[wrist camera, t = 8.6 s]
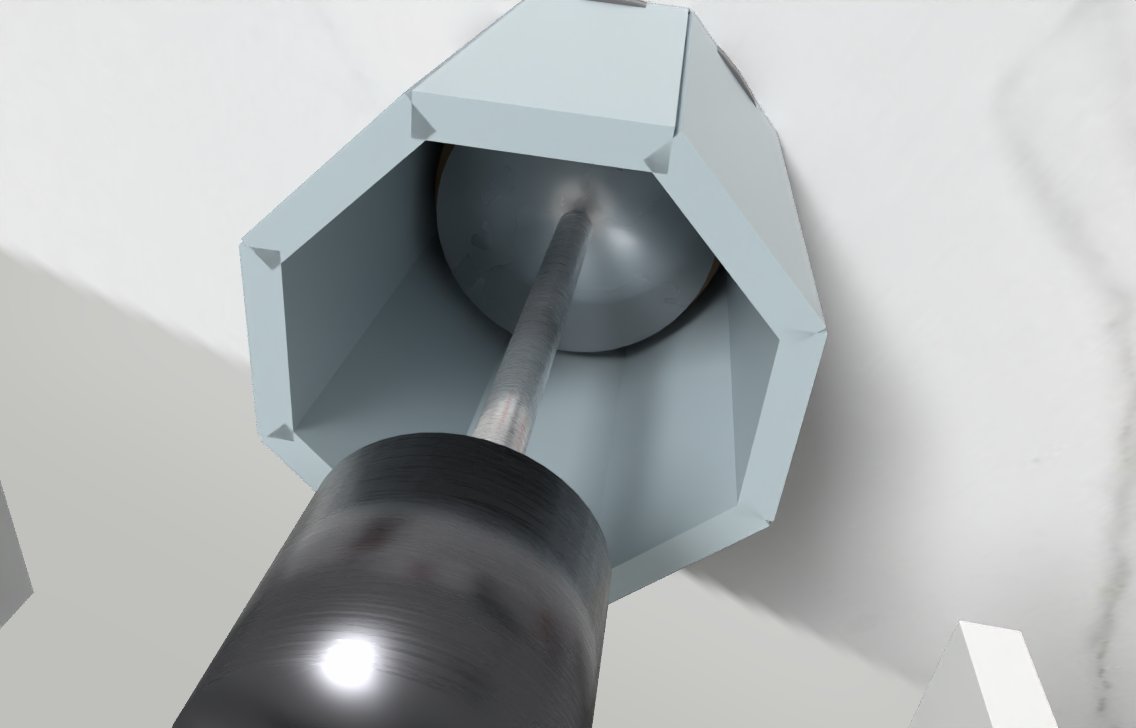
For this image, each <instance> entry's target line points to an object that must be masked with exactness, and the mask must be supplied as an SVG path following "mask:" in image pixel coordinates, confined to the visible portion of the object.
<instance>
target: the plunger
mask: <svg viewBox="0 0 1136 728" xmlns="http://www.w3.org/2000/svg"><path fill="white" fill-rule="evenodd" d="M437 226H438V232H439V238H440V243H441V246H442V249H443V252H444V256H445V259H446V261H447V263H448V265H449V267H450V270H451V272H452V274H453V276H454V277H455V279H456V280H457V282H458V284H459V285H460V287H461V289H462V290H463V291H464V292H465V294H466V295H467V296H468V297H469V299H470V300H471V301H472V302H473V303H474V304H475V305H476V306H477V307H478V308H479V309H480V310H481V311H482V312H483V313H484V314H485V315H486V316H487V317H489V318H490V319H491V320H492V321H494V322H495V323H496V324H497V325H499V326H500V327H502V328H504V329H505V330H507V331H509V332H510V333H512V334H513V335H512V338H511V340H510V343H509V345H508V348H507V350H506V353H505V355H504V357H503V360H502V362H501V365H500V367H499V370H498V372H497V375H496V377H495V380H494V382H493V385H492V387H491V390H490V392H489V394H488V397H487V399H486V402H485V404H484V407H483V409H482V412H481V414H480V417H479V419H478V422H477V424H476V427H475V429H474V431H473V434H472V436H467V435H461V434H452V433H443V432H421V433H412V434H404V435H398V436H394V437H390V438H386V439H382V440H379V441H376V442H374V443H371V444H369V445H366V446H364V447H362V448H360V449H359V450H357V451H355V452H353V453H352V454H350V455H348V456H347V457H346V458H345V459H343V460H342V461H341V462H340V463H338V464H337V465H336V466H335V467H334V468H333V469H332V470H331V471H330V472H329V474H328V475H327V476H326V477H325V478H324V480H323V481H322V483H321V485H320V486H319V488H318V490H317V491H316V493H315V494H314V496H313V498H312V500H311V501H310V503H309V504H308V506H307V508H306V509H305V511H304V512H303V514H302V516H301V517H300V519H299V521H298V522H297V524H296V525H295V527H294V529H293V530H292V532H291V534H290V535H289V537H288V539H287V540H286V542H285V543H284V545H283V547H282V548H281V550H280V552H279V553H278V555H277V556H276V558H275V560H274V561H273V563H272V565H271V566H270V568H269V569H268V571H267V573H266V574H265V576H264V578H263V579H262V581H261V582H260V584H259V586H258V588H257V589H256V591H255V592H254V594H253V595H252V597H251V599H250V600H249V602H248V604H247V605H246V607H245V608H244V610H243V612H242V613H241V615H240V617H239V618H238V620H237V621H236V623H235V625H234V626H233V628H232V630H231V631H230V633H229V635H228V636H227V638H226V639H225V641H224V643H223V644H222V646H221V648H220V649H219V651H218V653H217V654H216V656H215V657H214V659H213V661H212V663H211V664H210V665H209V667H208V669H207V670H206V672H205V674H204V675H203V677H202V679H201V680H200V682H199V683H198V685H197V687H196V688H195V690H194V692H193V693H192V695H191V696H190V698H189V700H188V701H187V703H186V705H185V707H184V708H183V709H182V711H181V713H180V714H179V716H178V718H177V719H176V721H175V722H174V724H173V727H172V728H592V723H593V716H594V708H595V701H596V693H597V685H598V678H599V670H600V662H601V655H602V647H603V639H604V632H605V624H606V617H607V609H608V602H609V594H610V587H611V574H612V570H611V559H610V553H609V549H608V546H607V542H606V539H605V537H604V534H603V532H602V530H601V527H600V525H599V523H598V522H597V520H596V518H595V517H594V515H593V514H592V512H591V510H590V509H589V507H588V506H587V505H586V504H585V503H584V501H583V500H582V499H581V498H580V496H579V495H578V494H577V493H576V492H575V491H574V490H573V489H572V488H571V487H570V486H569V485H568V484H567V483H565V482H564V481H563V480H562V479H561V478H560V477H558V476H557V475H556V474H554V473H553V472H552V471H550V470H549V469H548V468H546V467H545V466H543V465H542V464H540V463H538V462H536V461H535V460H533V459H531V458H530V457H528V456H526V455H525V453H526V449H527V446H528V443H529V439H530V436H531V433H532V429H533V426H534V423H535V420H536V416H537V413H538V410H539V406H540V403H541V400H542V397H543V393H544V390H545V387H546V383H547V380H548V377H549V374H550V370H551V367H552V364H553V360H554V357H555V354H556V350H562V351H572V352H598V351H606V350H613V349H617V348H621V347H624V346H628V345H631V344H634V343H636V342H639V341H641V340H644V339H646V338H648V337H649V336H651V335H653V334H655V333H657V332H659V331H660V330H662V329H663V328H664V327H666V326H667V325H669V324H670V323H671V322H673V321H674V320H675V319H676V318H677V317H678V316H679V315H680V314H681V313H682V312H683V311H685V310H686V308H687V307H688V306H689V305H690V303H691V302H692V301H693V300H694V298H695V297H696V296H697V294H698V293H699V291H700V289H701V288H702V286H703V284H704V283H705V281H706V279H707V276H708V274H709V272H710V269H711V267H712V264H713V261H714V257H715V254H714V253H713V252H712V250H711V249H710V248H709V246H708V245H707V244H706V242H705V241H704V240H703V238H702V237H701V236H700V235H699V233H698V232H697V231H696V229H695V228H694V227H693V225H692V224H691V223H690V221H689V220H688V219H687V217H686V216H685V215H684V214H683V212H682V211H681V210H680V208H679V207H678V206H677V204H676V203H675V202H674V200H673V199H672V198H671V196H670V195H669V194H668V193H667V191H666V190H665V189H664V187H663V186H662V185H661V183H660V182H659V181H658V179H657V178H656V177H655V175H654V174H653V173H652V172H646V171H639V170H632V169H625V168H618V167H611V166H604V165H597V164H590V163H583V162H576V161H569V160H562V159H555V158H548V157H541V156H534V155H527V154H520V153H513V152H506V151H498V150H491V149H484V148H477V147H470V146H463V145H455V146H454V148H453V150H452V152H451V153H450V155H449V157H448V160H447V162H446V165H445V167H444V170H443V172H442V176H441V180H440V185H439V189H438V197H437Z"/></svg>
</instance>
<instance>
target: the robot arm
mask: <svg viewBox="0 0 1136 728" xmlns="http://www.w3.org/2000/svg"><path fill="white" fill-rule="evenodd" d="M32 594H33V588H32V585H31V582H30V578H29V575H28V572H27V568H26V565H25V562H24V558H23V555H22V552H21V549H20V545H19V542H18V538H17V535H16V532H15V528H14V525H13V522H12V518H11V515H10V512H9V509H8V505H7V502H6V499H5V495H4V492H3V489H2V485H1V482H0V628H1V627H2V626H3V625H4V624H5V623H6V622H7V621H8V620H9V619H10V618H11V616H12V615H13V614H14V613H15V612H16V611H17V610H18V609H19V608H20V607H21V606H22V604H23V603H24V602H25V601H26V600H27V599H28V598H29V597H30V596H31V595H32ZM909 728H1058V726H1057V723H1056V721H1055V718H1054V716H1053V713H1052V711H1051V708H1050V705H1049V703H1048V700H1047V698H1046V695H1045V693H1044V690H1043V687H1042V685H1041V682H1040V680H1039V677H1038V675H1037V672H1036V669H1035V667H1034V664H1033V662H1032V659H1031V657H1030V654H1029V652H1028V649H1027V646H1026V644H1025V641H1024V639H1023V636H1022V634H1021V631H1016V630H1011V629H1005V628H999V627H994V626H988V625H982V624H977V623H971V622H965V621H960V620H959V621H958V624H957V626H956V628H955V630H954V632H953V634H952V636H951V638H950V641H949V643H948V645H947V647H946V649H945V651H944V653H943V655H942V658H941V660H940V662H939V664H938V666H937V668H936V670H935V672H934V675H933V677H932V679H931V681H930V683H929V685H928V687H927V689H926V692H925V694H924V696H923V698H922V700H921V702H920V704H919V706H918V709H917V711H916V713H915V715H914V717H913V719H912V721H911V724H910V726H909Z"/></svg>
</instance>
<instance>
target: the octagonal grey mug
mask: <svg viewBox="0 0 1136 728" xmlns="http://www.w3.org/2000/svg"><path fill="white" fill-rule="evenodd" d="M688 11H689V8H684V7H676V6H668V5H661V4H653V3H647V2H644V1H641V0H522V1H521V2H519V3H518V4H517V5H516V6H514V7H513V8H512V9H510V10H509V11H508V12H507V13H505V14H504V15H503V16H501V17H500V18H499V19H498V20H496V21H495V22H494V23H493V24H491V25H490V26H489V27H487V28H486V29H485V30H484V31H482V32H481V33H480V34H479V35H477V36H476V37H475V38H473V39H472V40H471V41H470V42H468V43H467V44H466V45H464V46H463V47H462V48H461V49H459V50H458V51H457V52H456V53H454V54H453V55H452V56H450V57H449V58H448V59H447V60H445V61H444V62H443V63H441V64H440V65H439V66H438V67H436V68H435V69H434V70H433V71H431V72H430V73H429V74H427V75H426V76H425V77H424V78H422V79H421V80H420V81H419V82H417V83H416V84H415V85H413V86H412V87H411V88H410V89H408V90H407V91H406V92H404V93H403V94H402V95H401V96H400V97H399V98H398V99H397V100H395V101H394V102H393V103H392V104H391V105H390V106H389V107H388V108H387V109H385V110H384V111H383V112H382V113H381V114H380V115H379V116H378V117H377V118H375V119H374V120H373V121H372V122H371V123H370V124H369V125H368V126H366V127H365V128H364V129H363V130H362V131H361V132H360V133H359V134H358V135H356V136H355V137H354V138H353V139H352V140H351V141H350V142H349V143H347V144H346V145H345V146H344V147H343V148H342V149H341V150H340V151H339V152H337V153H336V154H335V155H334V156H333V157H332V158H331V159H330V160H329V161H327V162H326V163H325V164H324V165H323V166H322V167H321V168H320V169H318V170H317V171H316V172H315V173H314V174H313V175H312V176H311V177H310V178H308V179H307V180H306V181H305V182H304V183H303V184H302V185H301V186H300V187H298V188H297V189H296V190H295V191H294V192H293V193H292V194H291V195H289V196H288V197H287V198H286V199H285V200H284V201H283V202H282V203H281V204H279V205H278V206H277V207H276V208H275V209H274V210H273V211H272V212H271V213H269V214H268V215H267V216H266V217H265V218H264V219H263V220H262V221H260V222H259V223H258V224H257V225H256V226H255V227H254V228H253V229H252V230H250V231H249V232H248V233H247V234H246V235H245V236H244V237H243V238H242V240H243V242H242V243H241V244H240V245H239V251H240V261H241V271H242V281H243V292H244V302H245V312H246V322H247V332H248V342H249V352H250V363H251V373H252V382H253V393H254V403H255V413H256V423H257V433H258V436H264V437H263V439H262V440H261V441H262V443H264V444H265V445H266V446H267V447H268V448H269V449H270V450H271V451H272V452H273V453H274V454H275V455H276V456H277V457H279V458H280V459H281V460H282V461H283V462H284V463H285V464H286V465H287V466H288V467H289V468H290V469H291V470H292V471H294V472H295V473H296V474H297V475H298V476H299V477H300V478H301V479H302V480H303V481H304V482H305V483H306V484H308V485H309V486H310V487H311V488H312V489H313V490H314V491H315V492H316V491H317V490H318V488H319V486H320V485H321V483H322V481H323V480H324V478H325V477H326V476H327V475H328V474H329V472H330V471H331V470H332V469H333V468H334V467H335V466H336V465H337V464H338V463H340V462H341V461H342V460H343V459H345V458H346V457H347V456H348V455H350V454H352V453H353V452H355V451H357V450H359V449H360V448H362V447H364V446H366V445H369V444H371V443H374V442H376V441H379V440H382V439H386V438H390V437H394V436H398V435H404V434H412V433H421V432H443V433H452V434H461V435H467V436H472V434H473V431H474V429H475V427H476V424H477V422H478V419H479V417H480V414H481V412H482V409H483V407H484V404H485V402H486V399H487V397H488V394H489V392H490V390H491V387H492V385H493V382H494V380H495V377H496V375H497V372H498V370H499V367H500V365H501V362H502V360H503V357H504V355H505V353H506V350H507V348H508V345H509V343H510V340H511V338H512V335H513V334H512V333H510V332H509V331H507V330H505V329H504V328H502V327H500V326H499V325H497V324H496V323H495V322H494V321H492V320H491V319H490V318H489V317H487V316H486V315H485V314H484V313H483V312H482V311H481V310H480V309H479V308H478V307H477V306H476V305H475V304H474V303H473V302H472V301H471V300H470V299H469V297H468V296H467V295H466V294H465V292H464V291H463V290H462V289H461V287H460V285H459V284H458V282H457V280H456V279H455V277H454V276H453V274H452V272H451V270H450V267H449V265H448V263H447V261H446V259H445V256H444V252H443V249H442V246H441V243H440V238H439V232H438V226H437V197H438V189H439V185H440V180H441V176H442V172H443V170H444V167H445V165H446V162H447V160H448V157H449V155H450V153H451V152H452V150H453V148H454V146H455V145H463V146H470V147H477V148H484V149H491V150H498V151H506V152H513V153H520V154H527V155H534V156H541V157H548V158H555V159H562V160H569V161H576V162H583V163H590V164H597V165H604V166H611V167H618V168H625V169H632V170H639V171H646V172H652V173H653V174H654V175H655V177H656V178H657V179H658V181H659V182H660V183H661V185H662V186H663V187H664V189H665V190H666V191H667V193H668V194H669V195H670V196H671V198H672V199H673V200H674V202H675V203H676V204H677V206H678V207H679V208H680V210H681V211H682V212H683V214H684V215H685V216H686V217H687V219H688V220H689V221H690V223H691V224H692V225H693V227H694V228H695V229H696V231H697V232H698V233H699V235H700V236H701V237H702V238H703V240H704V241H705V242H706V244H707V245H708V246H709V248H710V249H711V250H712V252H713V253H714V254H715V257H714V261H713V264H712V267H711V269H710V272H709V274H708V276H707V279H706V281H705V283H704V284H703V286H702V288H701V289H700V291H699V293H698V294H697V296H696V297H695V298H694V300H693V301H692V302H691V303H690V305H689V306H688V307H687V308H686V310H685V311H683V312H682V313H681V314H680V315H679V316H678V317H677V318H676V319H675V320H674V321H673V322H671V323H670V324H669V325H667V326H666V327H664V328H663V329H662V330H660V331H659V332H657V333H655V334H653V335H651V336H649V337H648V338H646V339H644V340H641V341H639V342H636V343H634V344H631V345H628V346H624V347H621V348H617V349H613V350H606V351H598V352H572V351H562V350H556V354H555V357H554V360H553V364H552V367H551V370H550V374H549V377H548V380H547V383H546V387H545V390H544V393H543V397H542V400H541V403H540V406H539V410H538V413H537V416H536V420H535V423H534V426H533V429H532V433H531V436H530V439H529V443H528V446H527V449H526V453H525V455H526V456H528V457H530V458H531V459H533V460H535V461H536V462H538V463H540V464H542V465H543V466H545V467H546V468H548V469H549V470H550V471H552V472H553V473H554V474H556V475H557V476H558V477H560V478H561V479H562V480H563V481H564V482H565V483H567V484H568V485H569V486H570V487H571V488H572V489H573V490H574V491H575V492H576V493H577V494H578V495H579V496H580V498H581V499H582V500H583V501H584V503H585V504H586V505H587V506H588V507H589V509H590V510H591V512H592V514H593V515H594V517H595V518H596V520H597V522H598V523H599V525H600V527H601V530H602V532H603V534H604V537H605V539H606V542H607V546H608V549H609V553H610V559H611V570H612V574H611V587H610V594H609V602H608V604H610V603H612V602H614V601H616V600H618V599H620V598H623V597H625V596H626V595H629V594H631V593H633V592H635V591H637V590H639V589H641V588H643V587H645V586H647V585H649V584H651V583H653V582H655V581H657V580H659V579H662V578H664V577H666V576H668V575H670V574H672V573H674V572H676V571H678V570H680V569H682V568H684V567H686V566H688V565H690V564H692V563H695V562H697V561H699V560H701V559H703V558H705V557H707V556H709V555H711V554H713V553H715V552H717V551H719V550H721V549H723V548H725V547H727V546H729V545H732V544H734V543H736V542H738V541H740V540H742V539H744V538H746V537H748V536H750V535H752V534H754V533H756V532H758V531H760V530H762V529H764V528H766V527H769V526H770V525H769V521H774V519H775V515H776V512H777V508H778V505H779V502H780V498H781V495H782V491H783V488H784V484H785V481H786V477H787V474H788V470H789V467H790V463H791V460H792V456H793V453H794V450H795V446H796V443H797V439H798V436H799V432H800V429H801V425H802V422H803V418H804V415H805V411H806V408H807V404H808V401H809V398H810V394H811V391H812V387H813V384H814V380H815V377H816V373H817V370H818V366H819V363H820V359H821V356H822V352H823V349H824V346H825V342H826V339H827V335H828V334H827V330H826V324H825V320H824V316H823V312H822V308H821V304H820V300H819V296H818V293H817V289H816V285H815V281H814V277H813V273H812V269H811V265H810V261H809V257H808V253H807V249H806V245H805V241H804V237H803V233H802V229H801V225H800V221H799V218H798V214H797V210H796V206H795V202H794V198H793V194H792V190H791V186H790V182H789V178H788V174H787V170H786V166H785V162H784V158H783V154H782V150H781V146H780V142H779V139H778V135H777V131H776V130H775V128H774V127H773V126H772V124H771V123H770V121H769V120H768V118H767V117H766V115H765V114H764V113H763V111H762V110H761V108H760V107H759V105H758V104H757V102H756V101H755V99H754V97H753V95H752V92H751V90H750V89H749V87H748V85H747V84H746V82H745V80H744V78H743V77H742V75H741V73H740V72H739V70H738V69H737V68H736V66H735V65H734V64H733V63H732V61H731V60H730V59H729V58H728V56H727V55H726V54H725V53H724V51H723V50H721V49H720V48H719V47H718V46H717V45H716V43H715V42H714V40H713V39H712V37H711V36H710V34H709V33H708V32H707V30H706V29H705V27H704V26H703V24H702V23H701V21H700V20H699V19H698V17H697V16H696V14H695V13H694V11H692V12H691V13H690V14H688Z"/></svg>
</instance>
